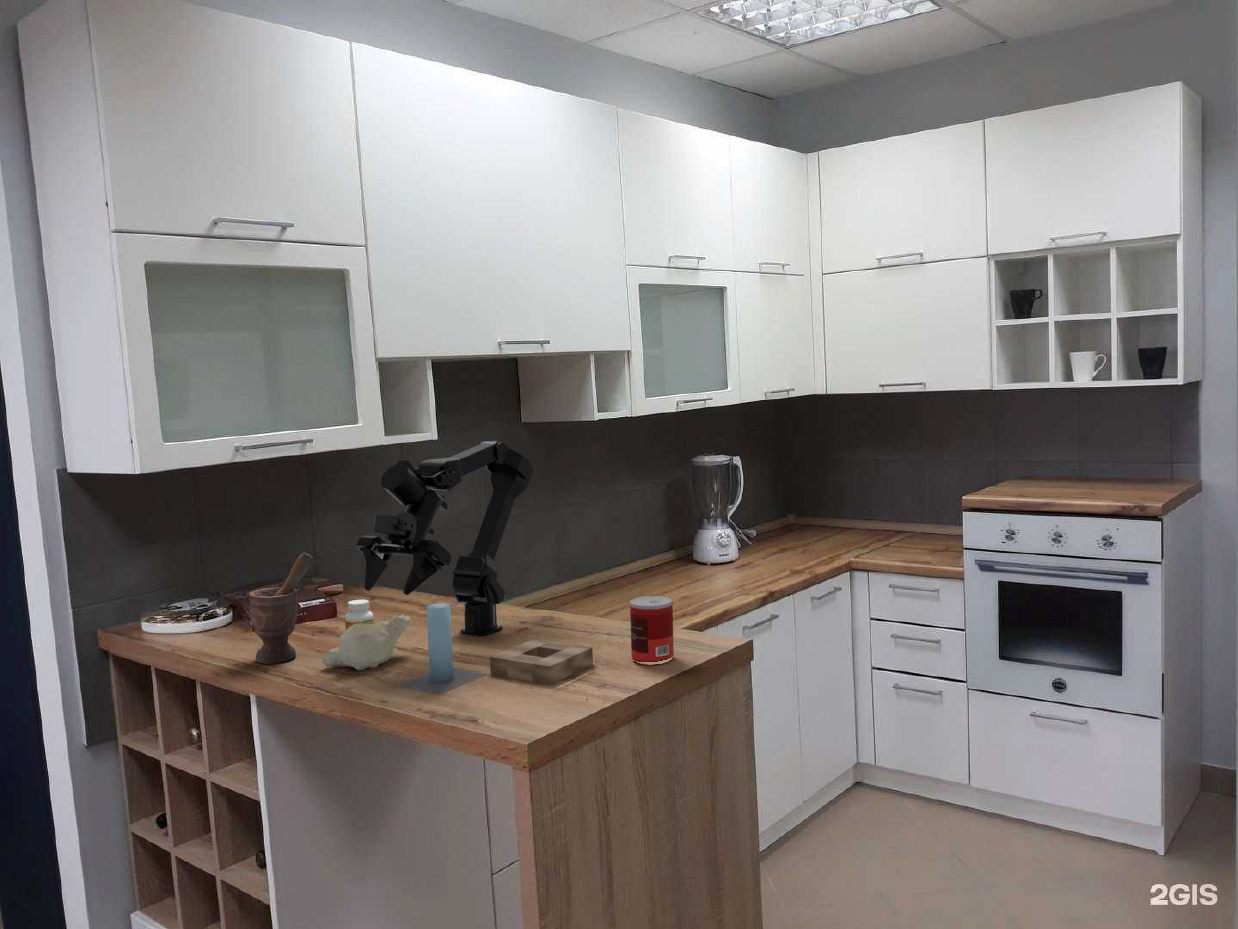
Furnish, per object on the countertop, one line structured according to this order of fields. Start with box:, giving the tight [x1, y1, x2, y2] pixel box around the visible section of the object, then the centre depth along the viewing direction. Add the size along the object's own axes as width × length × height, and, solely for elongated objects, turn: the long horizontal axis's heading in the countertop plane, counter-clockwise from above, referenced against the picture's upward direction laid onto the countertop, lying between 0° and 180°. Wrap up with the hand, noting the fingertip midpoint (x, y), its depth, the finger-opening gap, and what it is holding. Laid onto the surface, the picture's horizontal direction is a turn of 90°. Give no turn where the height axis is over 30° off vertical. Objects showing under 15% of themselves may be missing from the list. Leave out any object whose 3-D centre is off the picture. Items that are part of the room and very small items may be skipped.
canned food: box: [629, 595, 675, 662], centre depth 182 cm, size 8×8×11 cm
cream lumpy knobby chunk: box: [322, 613, 413, 671], centre depth 184 cm, size 15×7×15 cm
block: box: [489, 638, 594, 686], centre depth 177 cm, size 13×13×4 cm
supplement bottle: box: [344, 599, 375, 630], centre depth 194 cm, size 5×5×10 cm
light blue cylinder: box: [426, 602, 454, 683], centre depth 172 cm, size 4×4×13 cm
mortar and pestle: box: [248, 552, 314, 665], centre depth 190 cm, size 12×9×20 cm
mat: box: [395, 668, 487, 695], centre depth 173 cm, size 12×10×1 cm
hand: (385, 592), depth 181 cm, fingers open, 9 cm apart
